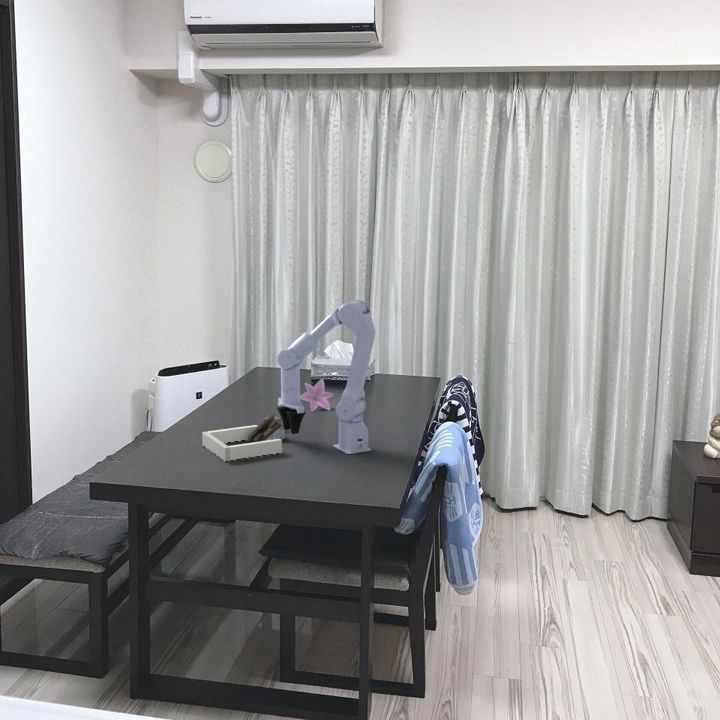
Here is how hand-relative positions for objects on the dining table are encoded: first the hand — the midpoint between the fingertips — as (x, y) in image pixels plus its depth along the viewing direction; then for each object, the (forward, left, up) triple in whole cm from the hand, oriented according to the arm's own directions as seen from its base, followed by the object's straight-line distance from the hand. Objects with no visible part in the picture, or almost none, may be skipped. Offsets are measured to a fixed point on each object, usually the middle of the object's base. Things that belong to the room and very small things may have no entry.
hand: (291, 431), depth 258 cm
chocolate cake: (+5, +5, -4) cm, 8 cm away
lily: (+34, -26, -4) cm, 43 cm away
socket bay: (0, +16, -3) cm, 16 cm away
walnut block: (+15, 0, -3) cm, 16 cm away
